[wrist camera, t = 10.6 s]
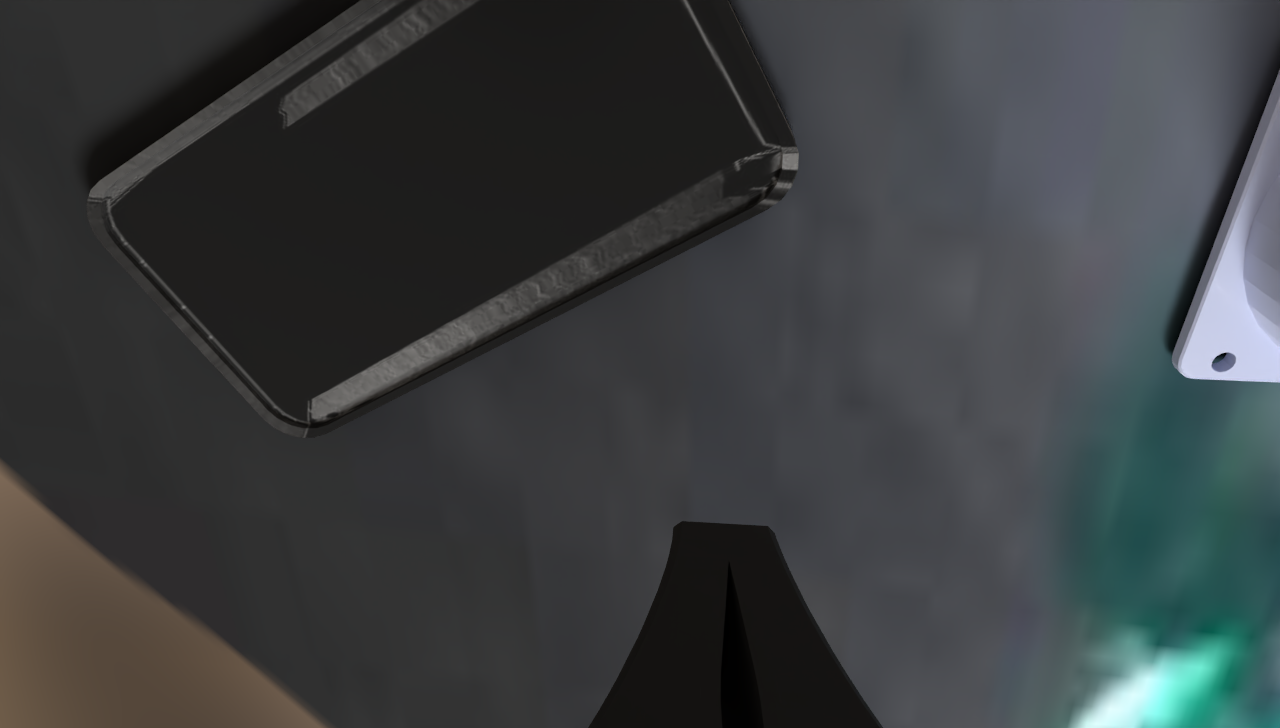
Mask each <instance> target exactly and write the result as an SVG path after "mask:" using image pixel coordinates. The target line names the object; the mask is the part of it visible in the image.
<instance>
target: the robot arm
mask: <svg viewBox="0 0 1280 728" xmlns="http://www.w3.org/2000/svg"><path fill="white" fill-rule="evenodd" d="M1221 353H1226V356H1225V357H1224V358H1223V360H1221V361H1219V362H1218V363H1213V364H1212V361H1213V360H1214V358H1215V357H1216V356H1218V355H1220V354H1221ZM1172 362H1173V365H1174V367H1175V368H1176V369H1177V370H1178V371H1179V372H1180V373H1181V374H1182V375H1184V376H1185V377H1188V378H1192V379H1211V380H1235V381H1259V382H1280V70H1279V73H1278V75H1277V78H1276V81H1275V83H1274V86H1273V89H1272V91H1271V94H1270V97H1269V99H1268V102H1267V105H1266V107H1265V110H1264V113H1263V115H1262V118H1261V121H1260V123H1259V126H1258V128H1257V131H1256V134H1255V136H1254V139H1253V142H1252V144H1251V147H1250V150H1249V152H1248V155H1247V158H1246V160H1245V163H1244V166H1243V168H1242V171H1241V174H1240V176H1239V179H1238V181H1237V184H1236V187H1235V189H1234V192H1233V195H1232V197H1231V200H1230V203H1229V205H1228V208H1227V211H1226V213H1225V216H1224V219H1223V221H1222V224H1221V227H1220V229H1219V232H1218V235H1217V237H1216V240H1215V242H1214V245H1213V248H1212V250H1211V253H1210V256H1209V258H1208V261H1207V264H1206V266H1205V269H1204V272H1203V274H1202V277H1201V280H1200V282H1199V285H1198V288H1197V290H1196V293H1195V296H1194V298H1193V301H1192V303H1191V306H1190V309H1189V311H1188V314H1187V317H1186V319H1185V322H1184V325H1183V327H1182V330H1181V333H1180V335H1179V338H1178V341H1177V343H1176V346H1175V349H1174V351H1173V355H1172ZM588 728H883V727H882V726H881V724H880V723H879V721H878V720H877V719H876V717H875V716H874V714H873V713H872V711H871V710H870V708H869V707H868V706H867V704H866V703H865V701H864V700H863V698H862V697H861V695H860V694H859V692H858V690H857V689H856V687H855V686H854V684H853V683H852V681H851V680H850V678H849V677H848V675H847V674H846V672H845V670H844V669H843V667H842V666H841V664H840V662H839V661H838V659H837V657H836V656H835V654H834V652H833V651H832V649H831V647H830V646H829V644H828V642H827V640H826V639H825V637H824V635H823V633H822V632H821V630H820V628H819V626H818V624H817V623H816V621H815V619H814V617H813V616H812V614H811V612H810V610H809V608H808V606H807V604H806V603H805V601H804V599H803V597H802V595H801V593H800V591H799V589H798V587H797V585H796V583H795V581H794V579H793V576H792V574H791V572H790V570H789V568H788V566H787V563H786V561H785V559H784V556H783V554H782V552H781V549H780V547H779V544H778V542H777V539H776V536H775V533H774V532H773V531H772V530H771V529H770V528H769V527H768V526H755V525H738V524H720V523H703V522H686V521H682V522H680V523H679V524H677V525H676V526H674V528H673V539H672V544H671V549H670V554H669V557H668V561H667V565H666V568H665V571H664V574H663V577H662V580H661V583H660V586H659V589H658V591H657V594H656V596H655V599H654V601H653V603H652V606H651V608H650V611H649V613H648V615H647V618H646V620H645V623H644V625H643V627H642V630H641V632H640V634H639V636H638V638H637V640H636V642H635V644H634V646H633V648H632V650H631V652H630V654H629V656H628V658H627V660H626V662H625V664H624V666H623V668H622V670H621V672H620V674H619V676H618V678H617V680H616V682H615V683H614V685H613V687H612V689H611V691H610V692H609V694H608V696H607V698H606V699H605V701H604V703H603V704H602V706H601V708H600V710H599V711H598V713H597V715H596V716H595V718H594V719H593V721H592V723H591V724H590V726H589V727H588Z"/></svg>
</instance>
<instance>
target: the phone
mask: <svg viewBox="0 0 1280 728" xmlns="http://www.w3.org/2000/svg"><path fill="white" fill-rule="evenodd" d="M798 156H799V153H798V149H797V146H796V143H795V139H794V136H793V134H792V131H791V129H790V126H789V124H788V122H787V120H786V118H785V116H784V114H783V112H782V110H781V108H780V106H779V104H778V102H777V100H776V98H775V95H774V93H773V91H772V89H771V87H770V85H769V83H768V81H767V79H766V77H765V75H764V73H763V71H762V69H761V67H760V64H759V62H758V60H757V58H756V56H755V54H754V52H753V50H752V48H751V46H750V44H749V42H748V40H747V38H746V36H745V34H744V31H743V29H742V27H741V25H740V23H739V21H738V19H737V17H736V15H735V13H734V11H733V9H732V7H731V5H730V3H729V1H728V0H360V1H359V2H357V3H356V4H354V5H353V6H351V7H350V8H349V9H347V10H346V11H344V12H343V13H341V14H340V15H338V16H337V17H336V18H334V19H333V20H331V21H330V22H328V23H327V24H325V25H324V26H323V27H321V28H320V29H318V30H317V31H315V32H314V33H312V34H311V35H309V36H308V37H307V38H305V39H304V40H302V41H301V42H299V43H298V44H296V45H295V46H294V47H292V48H291V49H289V50H288V51H286V52H285V53H283V54H282V55H281V56H279V57H278V58H276V59H275V60H273V61H272V62H270V63H269V64H268V65H266V66H265V67H263V68H262V69H260V70H259V71H257V72H256V73H254V74H253V75H252V76H250V77H249V78H247V79H246V80H244V81H243V82H241V83H240V84H239V85H237V86H236V87H234V88H233V89H231V90H230V91H228V92H227V93H226V94H224V95H223V96H221V97H220V98H218V99H217V100H215V101H214V102H213V103H211V104H210V105H208V106H207V107H205V108H204V109H202V110H201V111H199V112H198V113H197V114H195V115H194V116H192V117H191V118H189V119H188V120H186V121H185V122H184V123H182V124H181V125H179V126H178V127H176V128H175V129H173V130H172V131H171V132H169V133H168V134H166V135H165V136H163V137H162V138H160V139H159V140H158V141H156V142H155V143H153V144H152V145H150V146H149V147H147V148H146V149H144V150H143V151H142V152H140V153H139V154H137V155H136V156H134V157H133V158H131V159H130V160H129V161H127V162H126V163H124V164H123V165H121V166H120V167H118V168H117V169H116V170H114V171H113V172H111V173H110V174H108V175H107V176H105V177H104V178H102V179H101V180H100V181H99V182H98V183H97V184H96V185H95V186H94V187H93V188H92V189H91V191H90V194H89V197H88V200H87V216H88V220H89V223H90V225H91V228H92V230H93V233H94V234H95V235H96V237H97V238H98V240H99V241H100V242H101V244H102V245H103V246H104V248H105V249H106V250H107V251H108V252H109V253H110V254H111V255H112V256H113V257H114V258H115V259H116V260H117V262H118V263H119V264H120V265H121V266H122V267H123V268H124V269H125V270H126V271H127V272H128V273H129V274H130V276H131V277H132V278H133V279H134V280H135V281H136V282H137V283H138V284H139V285H140V286H141V287H142V288H143V290H144V291H145V292H146V293H147V294H148V295H149V296H150V297H151V298H152V299H153V300H154V301H155V303H156V304H157V305H158V306H159V307H160V308H161V309H162V310H163V311H164V312H165V313H166V314H167V315H168V317H169V318H170V319H171V320H172V321H173V322H174V323H175V324H176V325H177V326H178V327H179V328H180V329H181V331H182V332H183V333H184V334H185V335H186V336H187V337H188V338H189V339H190V340H191V341H192V342H193V344H194V345H195V346H196V347H197V348H198V349H199V350H200V351H201V352H202V353H203V354H204V355H205V356H206V358H207V359H208V360H209V361H210V362H211V363H212V364H213V365H214V366H215V367H216V368H217V369H218V371H219V372H220V373H221V374H222V375H223V376H224V377H225V378H226V379H227V380H228V381H229V382H230V383H231V385H232V386H233V387H234V388H235V389H236V390H237V391H238V392H239V393H240V394H241V395H242V396H243V398H244V399H245V400H246V401H247V402H248V403H249V404H250V405H251V406H252V407H253V408H254V409H255V410H256V412H257V413H258V414H259V415H260V416H261V417H262V418H263V419H264V420H265V421H267V422H268V423H269V424H270V425H271V426H272V427H274V428H275V429H277V430H279V431H281V432H283V433H285V434H288V435H292V436H296V437H300V438H315V437H318V436H321V435H324V434H327V433H329V432H331V431H333V430H335V429H337V428H339V427H341V426H343V425H345V424H347V423H349V422H350V421H352V420H354V419H356V418H358V417H360V416H362V415H364V414H366V413H368V412H370V411H372V410H374V409H376V408H378V407H380V406H382V405H384V404H386V403H388V402H390V401H392V400H394V399H396V398H398V397H400V396H402V395H404V394H406V393H408V392H409V391H411V390H413V389H415V388H417V387H419V386H421V385H423V384H425V383H427V382H429V381H431V380H433V379H435V378H437V377H439V376H441V375H443V374H445V373H447V372H449V371H451V370H453V369H455V368H457V367H459V366H461V365H463V364H465V363H467V362H468V361H470V360H472V359H474V358H476V357H478V356H480V355H482V354H484V353H486V352H488V351H490V350H492V349H494V348H496V347H498V346H500V345H502V344H504V343H506V342H508V341H510V340H512V339H514V338H516V337H518V336H520V335H522V334H524V333H526V332H527V331H529V330H531V329H533V328H535V327H537V326H539V325H541V324H543V323H545V322H547V321H549V320H551V319H553V318H555V317H557V316H559V315H561V314H563V313H565V312H567V311H569V310H571V309H573V308H575V307H577V306H579V305H581V304H583V303H585V302H586V301H588V300H590V299H592V298H594V297H596V296H598V295H600V294H602V293H604V292H606V291H608V290H610V289H612V288H614V287H616V286H618V285H620V284H622V283H624V282H626V281H628V280H630V279H632V278H634V277H636V276H638V275H640V274H642V273H644V272H645V271H647V270H649V269H651V268H653V267H655V266H657V265H659V264H661V263H663V262H665V261H667V260H669V259H671V258H673V257H675V256H677V255H679V254H681V253H683V252H685V251H687V250H689V249H691V248H693V247H695V246H697V245H699V244H701V243H703V242H704V241H706V240H708V239H710V238H712V237H714V236H716V235H718V234H720V233H722V232H724V231H726V230H728V229H730V228H732V227H734V226H736V225H738V224H740V223H742V222H744V221H746V220H748V219H750V218H752V217H754V216H756V215H758V214H760V213H762V212H763V211H765V210H767V209H769V208H770V207H772V206H773V205H774V204H776V203H777V202H779V201H780V200H781V199H782V198H783V197H784V196H785V194H786V193H787V192H788V190H789V189H790V188H791V187H792V184H793V182H794V179H795V176H796V174H797V171H798Z"/></svg>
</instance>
